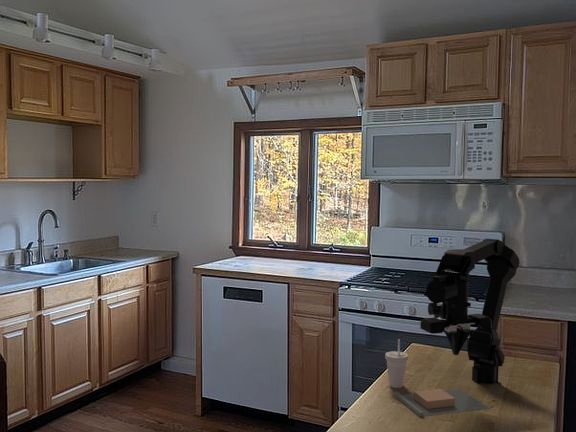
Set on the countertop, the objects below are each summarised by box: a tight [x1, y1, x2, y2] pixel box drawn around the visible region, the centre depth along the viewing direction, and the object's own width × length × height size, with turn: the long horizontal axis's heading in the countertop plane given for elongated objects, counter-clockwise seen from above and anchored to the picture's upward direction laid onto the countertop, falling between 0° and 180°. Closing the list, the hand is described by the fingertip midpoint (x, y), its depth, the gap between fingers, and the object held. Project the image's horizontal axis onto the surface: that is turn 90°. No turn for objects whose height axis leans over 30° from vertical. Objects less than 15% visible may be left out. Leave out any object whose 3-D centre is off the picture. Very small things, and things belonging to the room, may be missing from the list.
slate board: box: [393, 388, 491, 418], centre depth 151 cm, size 20×14×2 cm
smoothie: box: [384, 338, 409, 389], centre depth 162 cm, size 6×6×14 cm
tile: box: [413, 388, 455, 409], centre depth 150 cm, size 2×7×8 cm
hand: (455, 354), depth 155 cm, fingers closed
